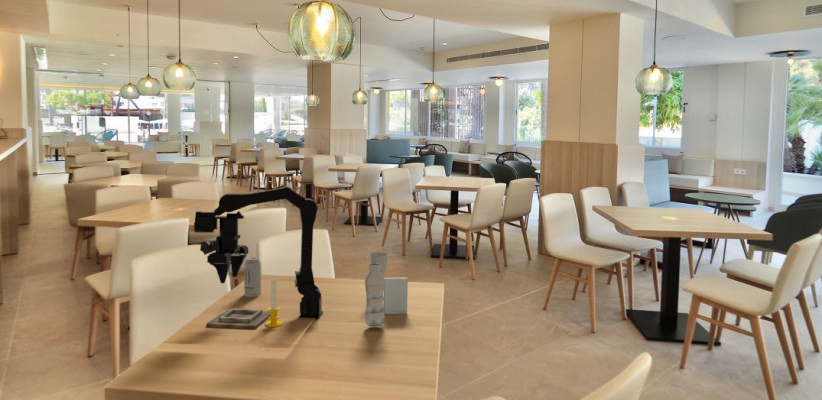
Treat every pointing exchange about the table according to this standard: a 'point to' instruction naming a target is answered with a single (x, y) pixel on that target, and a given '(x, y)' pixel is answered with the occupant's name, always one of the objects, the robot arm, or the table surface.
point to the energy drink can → (252, 277)
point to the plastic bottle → (374, 296)
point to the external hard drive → (395, 295)
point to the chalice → (380, 261)
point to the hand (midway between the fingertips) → (228, 280)
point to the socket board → (240, 319)
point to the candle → (273, 307)
